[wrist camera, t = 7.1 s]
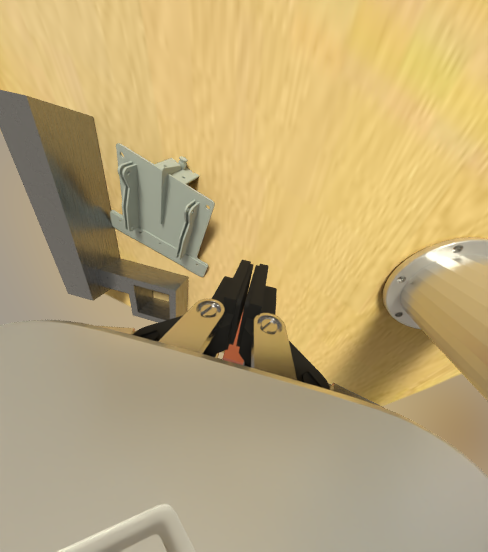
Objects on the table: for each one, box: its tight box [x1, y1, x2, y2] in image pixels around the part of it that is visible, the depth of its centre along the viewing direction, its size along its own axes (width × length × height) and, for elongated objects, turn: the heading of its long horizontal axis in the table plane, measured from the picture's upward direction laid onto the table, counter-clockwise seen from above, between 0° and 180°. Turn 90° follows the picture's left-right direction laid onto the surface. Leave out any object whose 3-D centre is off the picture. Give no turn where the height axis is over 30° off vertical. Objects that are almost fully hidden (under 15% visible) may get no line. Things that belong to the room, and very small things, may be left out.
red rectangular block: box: [223, 313, 244, 365], centre depth 25 cm, size 4×4×10 cm
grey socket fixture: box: [0, 90, 188, 323], centre depth 23 cm, size 16×25×6 cm, turn 168°
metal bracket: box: [110, 143, 215, 277], centre depth 23 cm, size 14×6×15 cm
